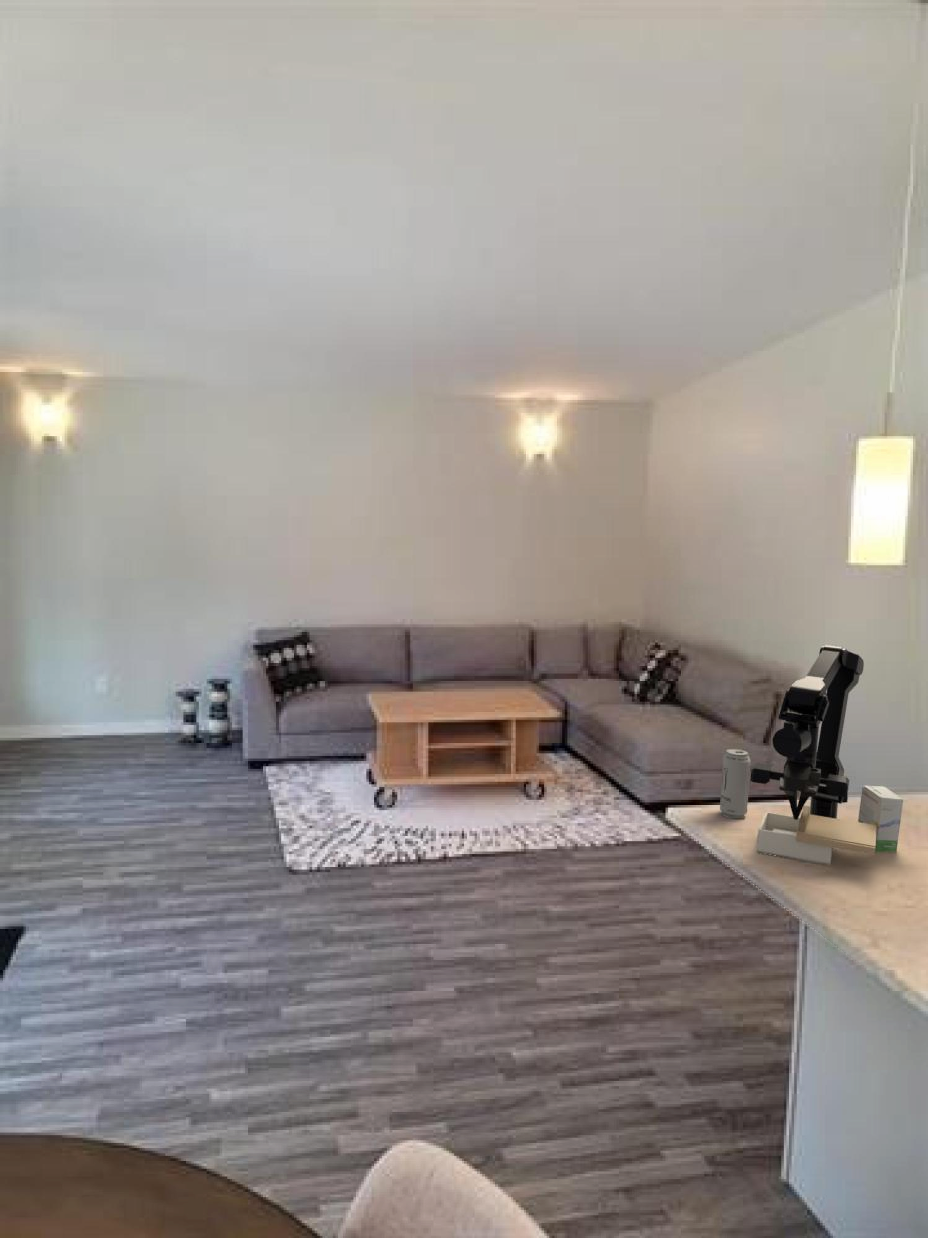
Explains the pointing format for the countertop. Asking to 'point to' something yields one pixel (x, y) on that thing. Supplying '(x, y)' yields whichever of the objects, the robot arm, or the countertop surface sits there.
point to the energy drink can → (735, 783)
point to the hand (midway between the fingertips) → (795, 819)
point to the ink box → (882, 815)
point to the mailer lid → (836, 833)
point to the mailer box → (788, 841)
